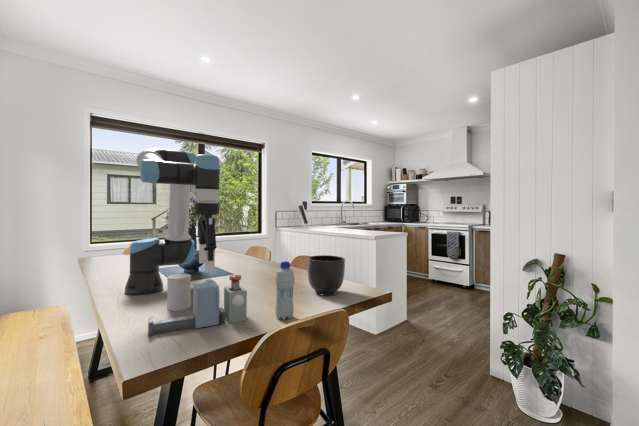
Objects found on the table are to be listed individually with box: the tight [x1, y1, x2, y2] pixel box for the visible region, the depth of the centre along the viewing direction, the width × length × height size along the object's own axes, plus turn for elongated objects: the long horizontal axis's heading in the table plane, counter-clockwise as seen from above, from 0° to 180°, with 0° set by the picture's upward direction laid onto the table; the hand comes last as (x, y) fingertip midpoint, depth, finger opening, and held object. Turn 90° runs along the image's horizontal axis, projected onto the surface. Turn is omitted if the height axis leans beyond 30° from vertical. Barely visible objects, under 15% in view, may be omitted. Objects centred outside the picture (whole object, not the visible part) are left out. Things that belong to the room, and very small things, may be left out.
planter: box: [307, 254, 346, 296], centre depth 141 cm, size 17×17×16 cm
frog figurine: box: [199, 278, 216, 284], centre depth 135 cm, size 6×7×7 cm
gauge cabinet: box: [223, 285, 248, 323], centre depth 108 cm, size 8×6×10 cm
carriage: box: [192, 281, 220, 329], centre depth 102 cm, size 8×7×13 cm
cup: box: [166, 273, 192, 312], centre depth 118 cm, size 8×8×12 cm
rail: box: [147, 306, 226, 337], centre depth 99 cm, size 5×22×4 cm, turn 119°
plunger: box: [229, 274, 242, 291], centre depth 108 cm, size 4×4×8 cm
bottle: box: [275, 260, 295, 321], centre depth 109 cm, size 7×7×20 cm
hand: (206, 266), depth 102 cm, fingers open, 13 cm apart
